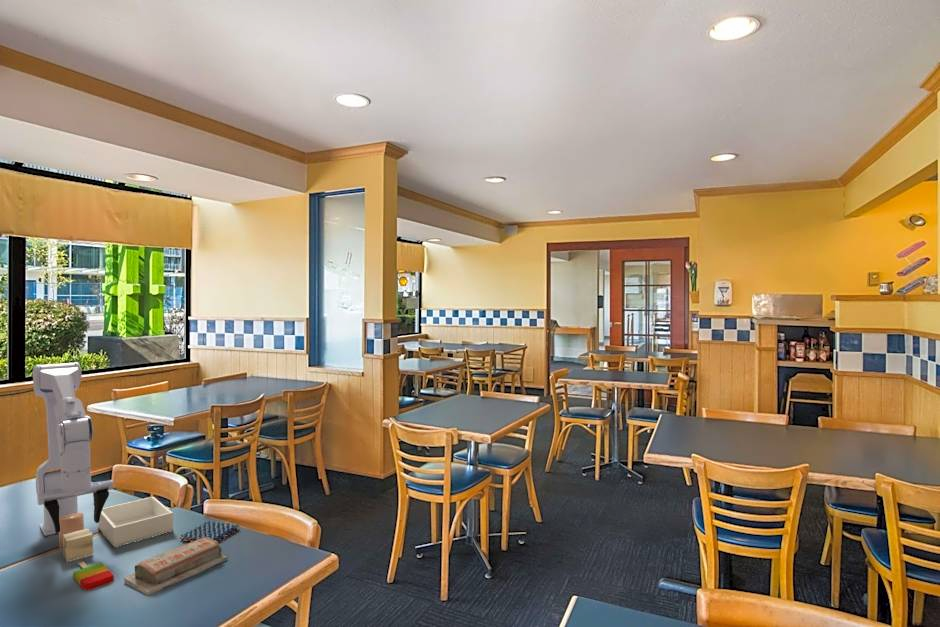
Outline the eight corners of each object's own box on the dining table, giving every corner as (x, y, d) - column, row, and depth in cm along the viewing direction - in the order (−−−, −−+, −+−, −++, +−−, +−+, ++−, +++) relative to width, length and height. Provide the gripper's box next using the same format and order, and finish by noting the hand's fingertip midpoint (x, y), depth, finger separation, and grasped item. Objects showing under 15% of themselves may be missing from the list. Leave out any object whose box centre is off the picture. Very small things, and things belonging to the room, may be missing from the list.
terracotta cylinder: (57, 544, 135) (56, 516, 135) (81, 538, 139) (81, 511, 138) (61, 551, 132) (60, 522, 131) (86, 544, 135) (85, 516, 135)
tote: (98, 527, 145) (97, 509, 145) (153, 513, 154) (153, 496, 154) (114, 548, 133) (113, 527, 133) (173, 531, 142) (172, 512, 142)
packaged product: (202, 532, 131) (227, 541, 126) (202, 551, 131) (227, 561, 126) (122, 562, 116) (147, 574, 111) (123, 585, 116) (147, 598, 111)
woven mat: (207, 527, 146) (207, 519, 146) (241, 531, 143) (241, 523, 143) (177, 543, 136) (177, 535, 136) (212, 548, 133) (212, 540, 133)
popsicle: (85, 594, 113) (84, 584, 113) (66, 571, 123) (66, 562, 123) (115, 583, 117) (115, 574, 117) (95, 562, 127) (94, 554, 127)
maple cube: (63, 555, 129) (62, 534, 129) (88, 548, 133) (88, 528, 133) (67, 562, 126) (66, 541, 126) (93, 555, 129) (92, 534, 129)
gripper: (39, 480, 121) (41, 541, 121) (115, 466, 131) (117, 521, 132) (35, 473, 126) (36, 531, 126) (108, 460, 136) (110, 514, 136)
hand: (77, 526), depth 129 cm, fingers open, 7 cm apart
